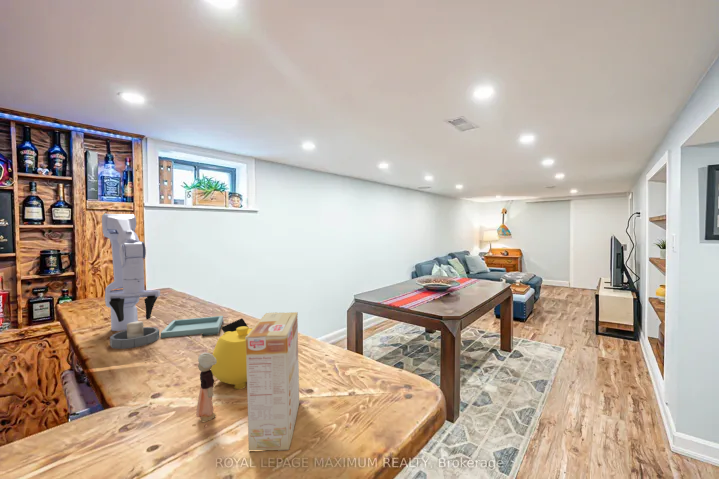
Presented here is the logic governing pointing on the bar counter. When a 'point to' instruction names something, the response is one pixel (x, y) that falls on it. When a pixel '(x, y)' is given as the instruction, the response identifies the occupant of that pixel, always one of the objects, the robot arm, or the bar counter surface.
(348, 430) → the bar counter surface
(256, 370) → the coffeecake box
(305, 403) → the bar counter surface
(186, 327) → the tray
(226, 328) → the handheld gaming console
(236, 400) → the bar counter surface
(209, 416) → the grandmother figurine
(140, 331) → the cylinder
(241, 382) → the teapot
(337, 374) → the bar counter surface
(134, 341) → the grey rounded shallow piece
